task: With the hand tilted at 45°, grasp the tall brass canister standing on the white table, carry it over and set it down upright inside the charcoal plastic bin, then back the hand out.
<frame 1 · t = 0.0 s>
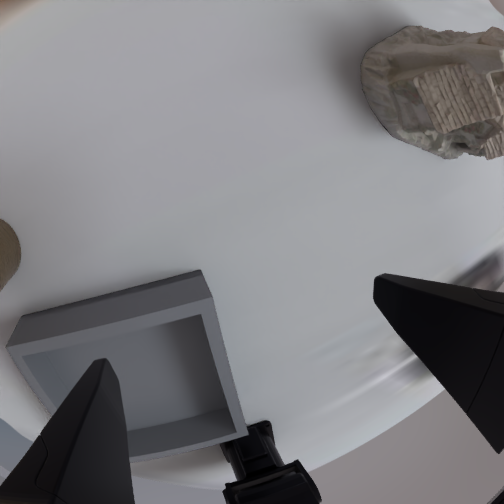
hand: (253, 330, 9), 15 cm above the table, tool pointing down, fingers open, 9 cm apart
charcoal bin: (135, 370, 25), on the table
ceramic cottage: (425, 98, 26), on the table
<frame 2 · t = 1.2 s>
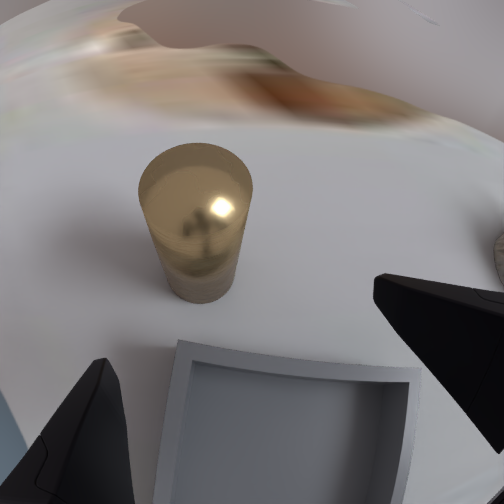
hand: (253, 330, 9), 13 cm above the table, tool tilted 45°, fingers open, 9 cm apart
brass canister: (200, 270, 24), on the table
charcoal bin: (279, 468, 18), on the table
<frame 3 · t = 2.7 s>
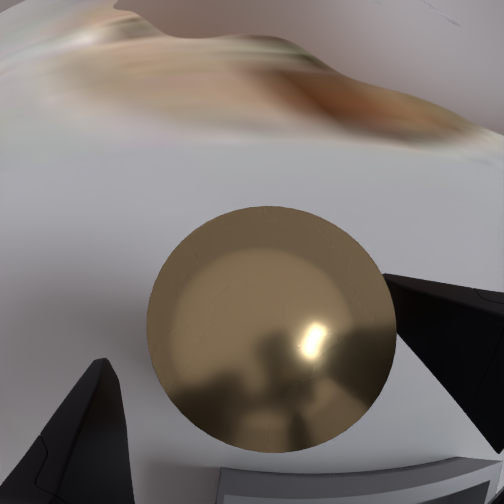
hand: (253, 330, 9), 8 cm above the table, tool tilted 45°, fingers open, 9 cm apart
brass canister: (237, 362, 16), on the table
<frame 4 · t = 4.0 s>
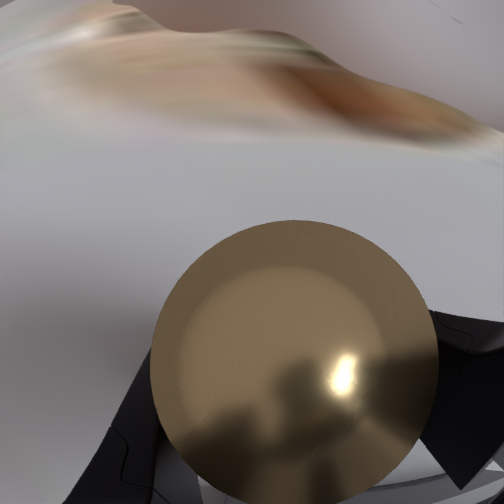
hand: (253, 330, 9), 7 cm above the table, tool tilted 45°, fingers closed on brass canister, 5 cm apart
brass canister: (245, 377, 15), on the table, touching gripper
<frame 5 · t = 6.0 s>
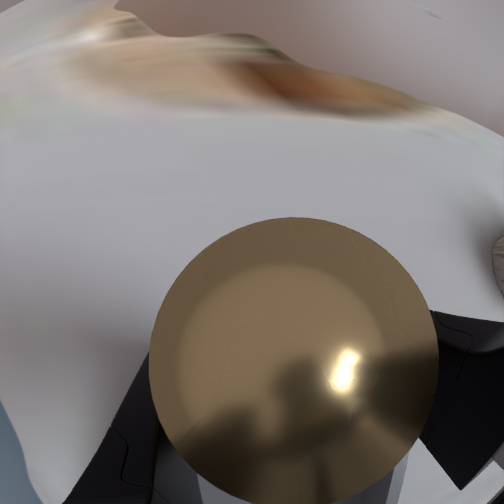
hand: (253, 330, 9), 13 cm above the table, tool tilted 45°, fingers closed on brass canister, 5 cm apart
brass canister: (244, 376, 15), point 6 cm above the table, touching gripper
charcoal bin: (273, 466, 18), on the table
when the fingers open (9 cm above the table, at t = 8.3 s): brass canister drops 1 cm, resting on charcoal bin.
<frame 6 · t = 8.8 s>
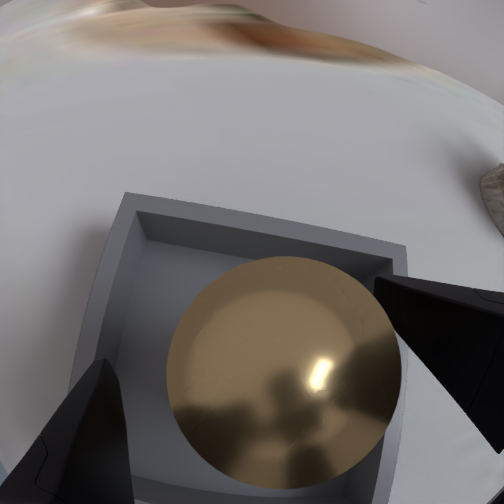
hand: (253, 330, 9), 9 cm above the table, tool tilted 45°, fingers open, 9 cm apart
brass canister: (243, 379, 16), point 1 cm above the table, touching charcoal bin
charcoal bin: (240, 378, 17), on the table
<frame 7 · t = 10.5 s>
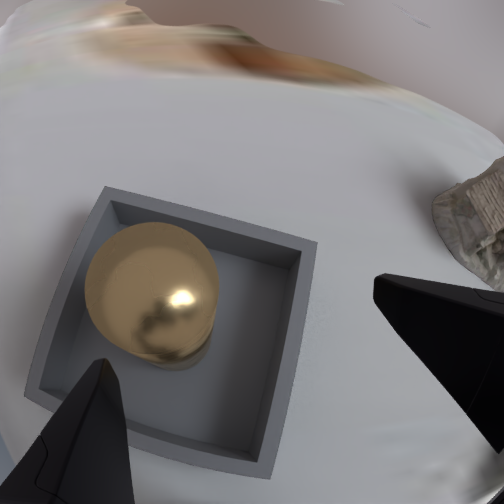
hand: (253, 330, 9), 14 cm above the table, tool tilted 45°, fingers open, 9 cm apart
brass canister: (174, 334, 21), point 1 cm above the table, touching charcoal bin
charcoal bin: (175, 335, 22), on the table
ceramic cottage: (481, 243, 31), on the table
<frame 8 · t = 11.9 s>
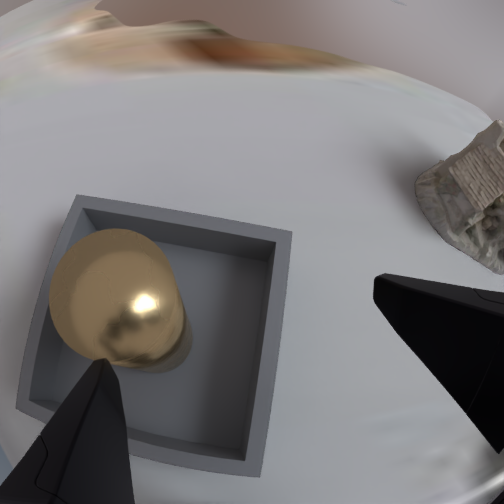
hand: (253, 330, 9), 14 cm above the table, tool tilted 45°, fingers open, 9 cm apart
brass canister: (156, 336, 21), point 1 cm above the table, touching charcoal bin
charcoal bin: (157, 337, 22), on the table
ceramic cottage: (470, 220, 31), on the table
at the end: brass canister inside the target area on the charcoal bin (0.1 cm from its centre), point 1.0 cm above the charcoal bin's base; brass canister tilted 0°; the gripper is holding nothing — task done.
